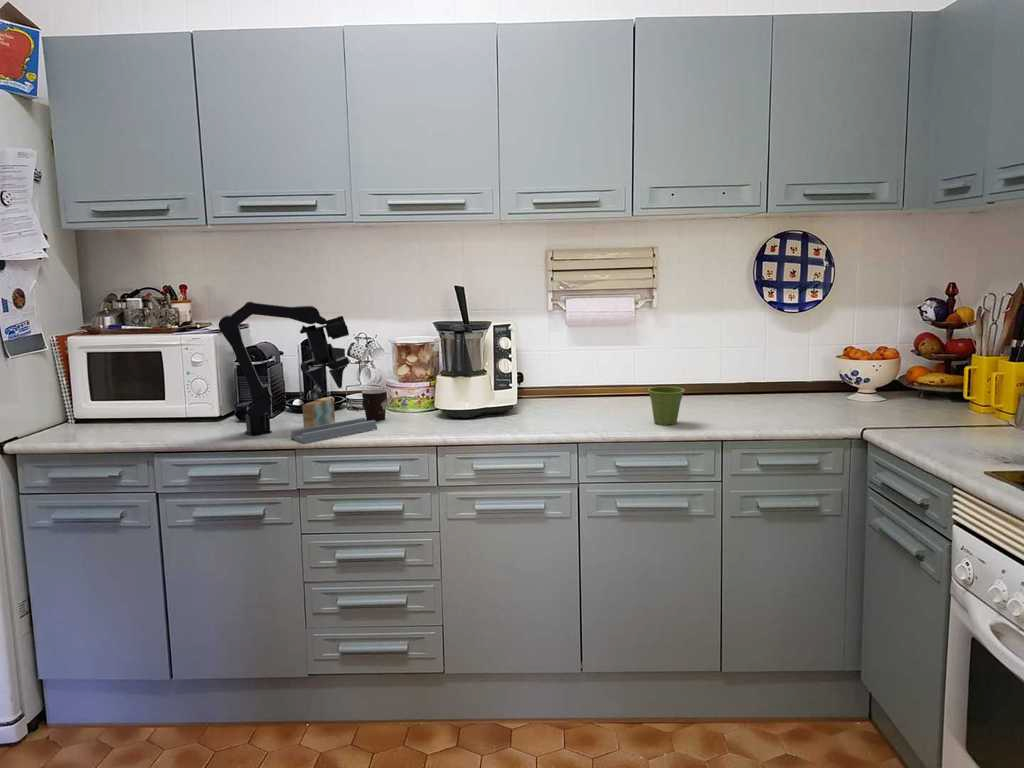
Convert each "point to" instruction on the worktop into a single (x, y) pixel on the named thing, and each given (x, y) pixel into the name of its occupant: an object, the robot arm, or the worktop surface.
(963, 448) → the worktop surface
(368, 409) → the coffee mug
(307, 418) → the tan rectangular block
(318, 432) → the rail
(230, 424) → the worktop surface
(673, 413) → the plant pot
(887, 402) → the worktop surface
